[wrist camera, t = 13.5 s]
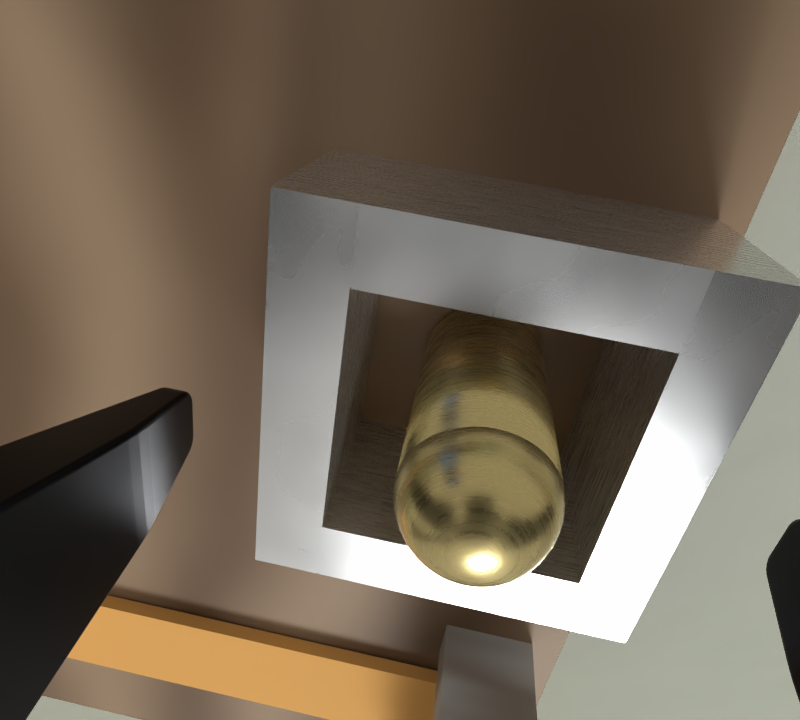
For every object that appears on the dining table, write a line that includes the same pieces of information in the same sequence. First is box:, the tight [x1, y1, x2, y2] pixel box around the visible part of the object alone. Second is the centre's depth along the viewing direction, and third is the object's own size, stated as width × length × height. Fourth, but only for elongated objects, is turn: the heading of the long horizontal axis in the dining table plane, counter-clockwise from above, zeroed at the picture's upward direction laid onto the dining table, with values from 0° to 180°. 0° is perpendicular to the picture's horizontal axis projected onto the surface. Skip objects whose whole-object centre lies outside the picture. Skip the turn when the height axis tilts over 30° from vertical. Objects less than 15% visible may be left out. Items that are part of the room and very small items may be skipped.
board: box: [0, 0, 800, 720], centre depth 14 cm, size 20×24×6 cm
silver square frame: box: [255, 148, 800, 643], centre depth 11 cm, size 7×7×4 cm
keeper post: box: [393, 309, 565, 587], centre depth 10 cm, size 2×2×6 cm
